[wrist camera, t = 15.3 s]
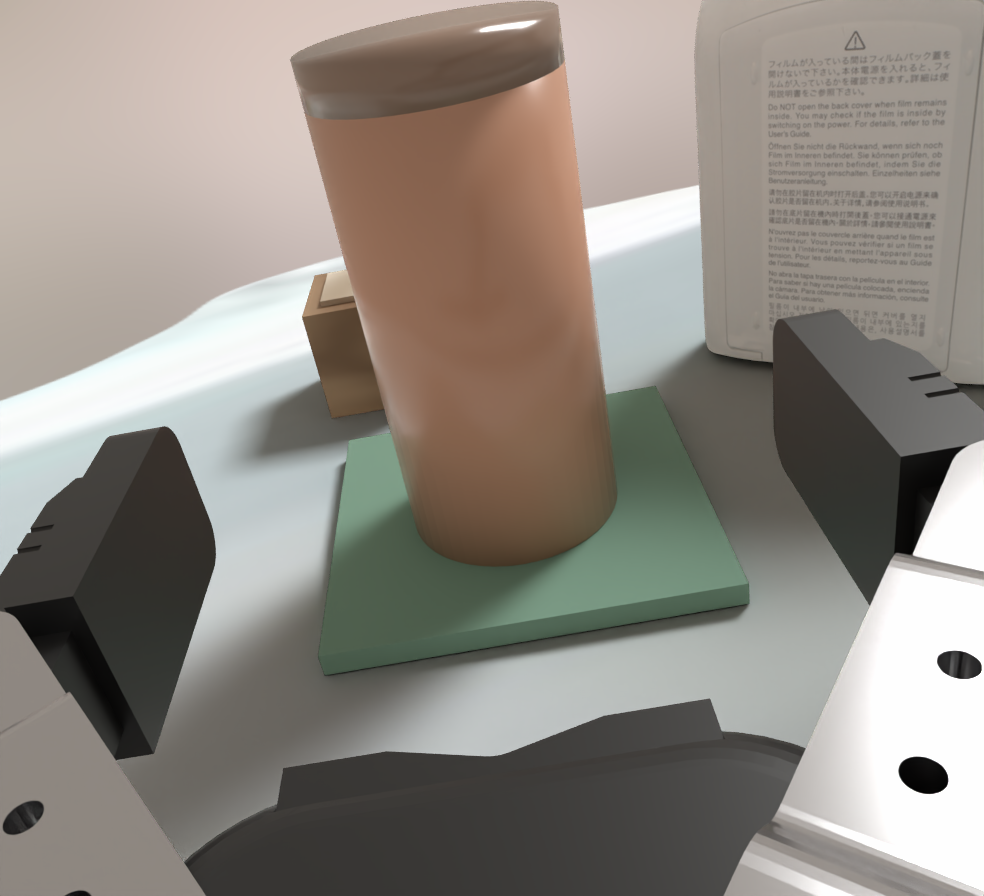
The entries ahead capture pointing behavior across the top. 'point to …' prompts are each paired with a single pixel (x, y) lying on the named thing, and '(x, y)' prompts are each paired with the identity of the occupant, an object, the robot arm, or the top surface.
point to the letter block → (340, 346)
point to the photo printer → (843, 172)
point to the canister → (470, 271)
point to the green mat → (533, 586)
